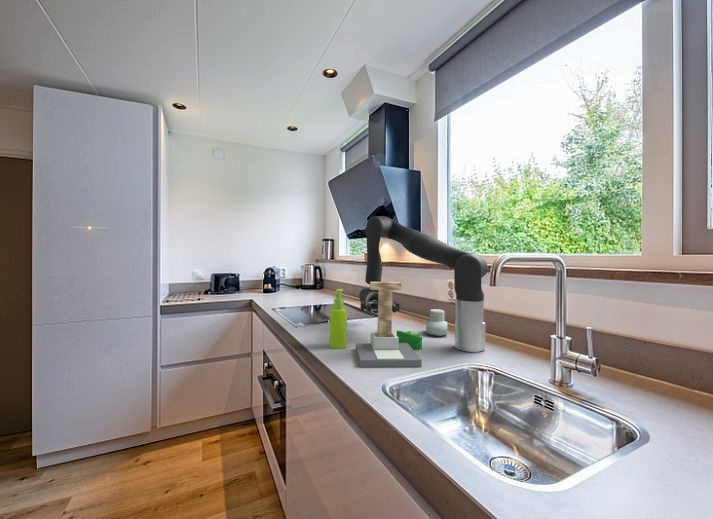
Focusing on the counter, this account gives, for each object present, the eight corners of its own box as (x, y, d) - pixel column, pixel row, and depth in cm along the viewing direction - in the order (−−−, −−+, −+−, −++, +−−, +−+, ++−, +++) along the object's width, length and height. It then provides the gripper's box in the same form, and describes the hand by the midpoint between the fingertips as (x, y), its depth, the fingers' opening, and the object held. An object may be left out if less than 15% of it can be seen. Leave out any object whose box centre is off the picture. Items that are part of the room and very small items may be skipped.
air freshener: (426, 330, 136) (427, 307, 136) (446, 332, 134) (447, 308, 133) (425, 336, 125) (426, 312, 125) (447, 338, 123) (447, 313, 123)
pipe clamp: (426, 348, 110) (427, 335, 110) (419, 350, 108) (420, 337, 108) (403, 341, 119) (403, 329, 119) (396, 342, 117) (396, 330, 116)
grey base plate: (407, 348, 109) (407, 331, 108) (421, 366, 92) (422, 346, 92) (355, 349, 107) (356, 331, 107) (360, 367, 90) (360, 346, 90)
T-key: (397, 344, 106) (399, 282, 106) (400, 348, 102) (401, 283, 102) (368, 344, 105) (369, 281, 105) (369, 348, 101) (371, 282, 101)
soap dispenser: (347, 343, 113) (348, 288, 113) (345, 349, 106) (346, 290, 106) (331, 342, 114) (332, 288, 114) (327, 348, 107) (329, 290, 107)
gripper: (358, 292, 124) (362, 298, 108) (394, 293, 125) (403, 298, 109) (358, 311, 124) (361, 320, 108) (393, 311, 125) (402, 320, 109)
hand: (382, 309), depth 108 cm, fingers open, 8 cm apart
